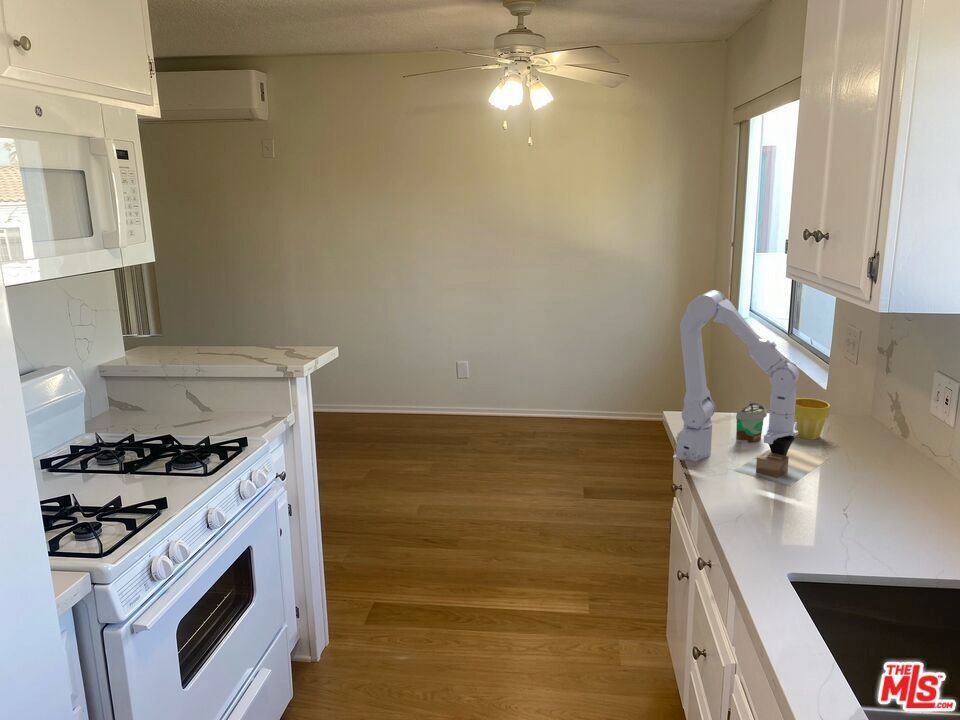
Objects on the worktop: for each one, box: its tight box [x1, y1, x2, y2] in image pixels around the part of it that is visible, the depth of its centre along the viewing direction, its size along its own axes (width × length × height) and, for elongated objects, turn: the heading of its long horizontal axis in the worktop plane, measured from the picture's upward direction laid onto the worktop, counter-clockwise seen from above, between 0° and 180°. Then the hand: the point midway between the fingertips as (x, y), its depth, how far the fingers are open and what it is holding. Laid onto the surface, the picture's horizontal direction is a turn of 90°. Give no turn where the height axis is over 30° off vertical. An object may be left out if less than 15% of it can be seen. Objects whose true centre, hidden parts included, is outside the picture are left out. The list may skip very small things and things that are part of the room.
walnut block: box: [756, 451, 789, 478], centre depth 178 cm, size 6×6×4 cm
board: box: [733, 448, 830, 487], centre depth 183 cm, size 24×14×1 cm, turn 134°
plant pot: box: [794, 397, 831, 440], centre depth 204 cm, size 10×10×10 cm
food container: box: [735, 400, 768, 444], centre depth 201 cm, size 12×6×10 cm, turn 143°
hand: (778, 463), depth 181 cm, fingers closed
